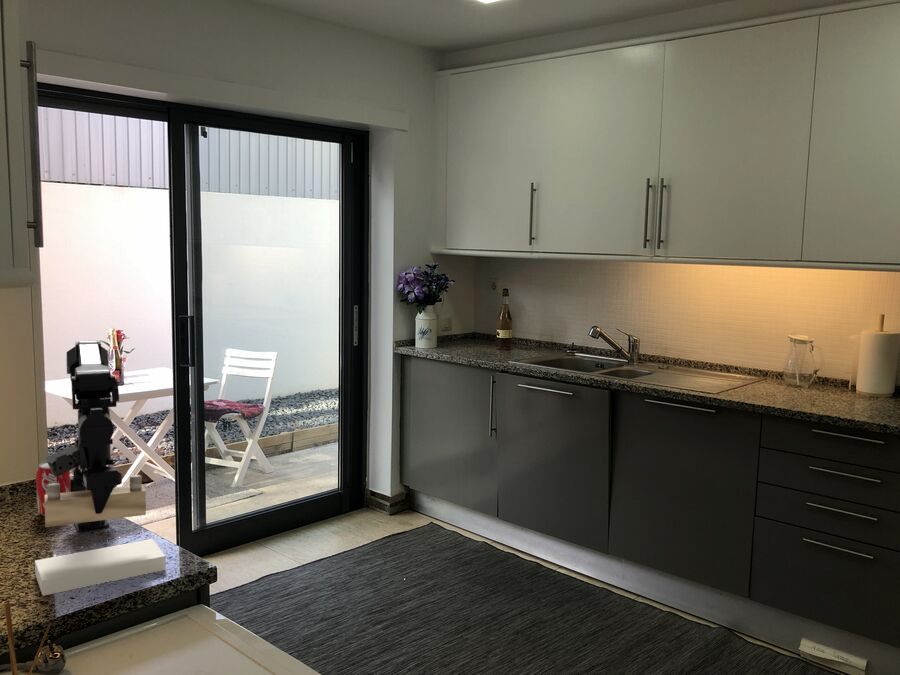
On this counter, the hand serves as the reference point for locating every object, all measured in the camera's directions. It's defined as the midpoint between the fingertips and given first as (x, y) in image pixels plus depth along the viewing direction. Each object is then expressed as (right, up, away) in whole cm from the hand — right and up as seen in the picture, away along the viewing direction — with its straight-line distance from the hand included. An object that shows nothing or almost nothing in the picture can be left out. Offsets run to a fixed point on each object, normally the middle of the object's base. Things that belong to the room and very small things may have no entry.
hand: (96, 509), depth 154 cm
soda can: (-23, -7, +29) cm, 38 cm away
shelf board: (+1, -12, -1) cm, 12 cm away
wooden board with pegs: (0, -2, 0) cm, 2 cm away
